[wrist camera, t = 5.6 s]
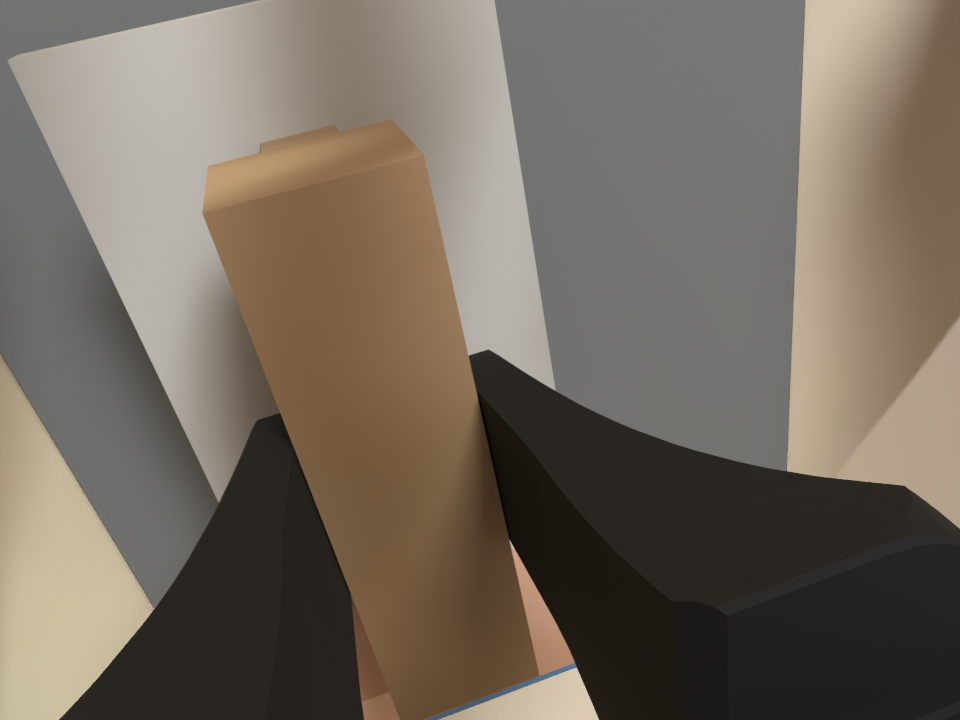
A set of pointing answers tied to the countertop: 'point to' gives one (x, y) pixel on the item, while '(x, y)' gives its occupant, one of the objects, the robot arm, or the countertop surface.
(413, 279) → the trowel
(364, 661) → the tile
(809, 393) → the countertop surface
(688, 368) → the mat
